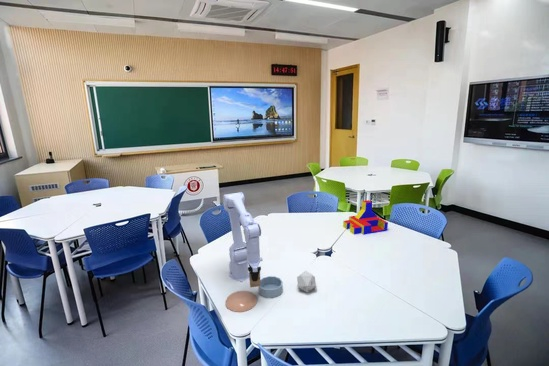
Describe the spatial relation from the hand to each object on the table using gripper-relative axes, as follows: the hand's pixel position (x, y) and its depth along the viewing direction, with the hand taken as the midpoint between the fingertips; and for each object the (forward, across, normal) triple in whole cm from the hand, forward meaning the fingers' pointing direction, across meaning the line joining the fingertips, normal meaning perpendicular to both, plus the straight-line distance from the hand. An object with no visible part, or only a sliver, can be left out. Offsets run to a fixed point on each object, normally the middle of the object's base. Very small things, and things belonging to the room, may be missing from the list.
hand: (254, 277), depth 129 cm
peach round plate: (+10, -2, +6) cm, 12 cm away
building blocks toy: (+10, +62, -84) cm, 105 cm away
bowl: (+10, +3, -8) cm, 13 cm away
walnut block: (+3, 0, 0) cm, 3 cm away
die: (+10, +1, -25) cm, 27 cm away
